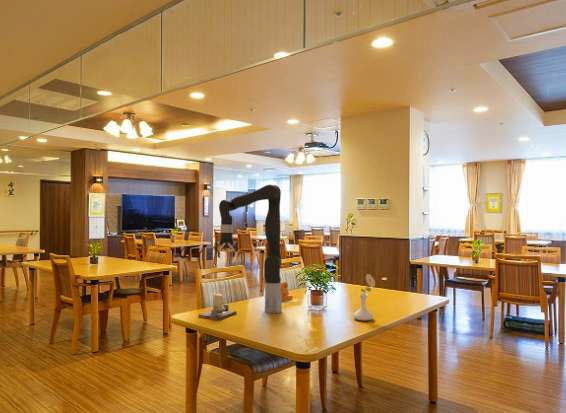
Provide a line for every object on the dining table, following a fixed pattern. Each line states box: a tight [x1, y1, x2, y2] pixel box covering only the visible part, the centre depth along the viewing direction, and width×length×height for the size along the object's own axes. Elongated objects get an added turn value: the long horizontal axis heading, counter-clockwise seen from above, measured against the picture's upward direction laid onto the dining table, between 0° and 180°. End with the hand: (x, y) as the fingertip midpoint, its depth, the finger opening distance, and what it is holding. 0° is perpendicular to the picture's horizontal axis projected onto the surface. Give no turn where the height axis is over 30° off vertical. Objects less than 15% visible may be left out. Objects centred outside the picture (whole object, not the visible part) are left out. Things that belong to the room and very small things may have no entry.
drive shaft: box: [222, 303, 230, 311], centre depth 242 cm, size 3×4×3 cm
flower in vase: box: [352, 273, 376, 321], centre depth 232 cm, size 13×11×25 cm
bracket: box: [280, 280, 294, 302], centre depth 283 cm, size 11×7×12 cm, turn 125°
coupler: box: [212, 293, 223, 314], centre depth 236 cm, size 5×5×10 cm
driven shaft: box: [210, 309, 217, 317], centre depth 230 cm, size 3×4×3 cm
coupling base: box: [198, 309, 237, 321], centre depth 236 cm, size 14×17×2 cm
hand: (226, 257), depth 260 cm, fingers open, 8 cm apart
